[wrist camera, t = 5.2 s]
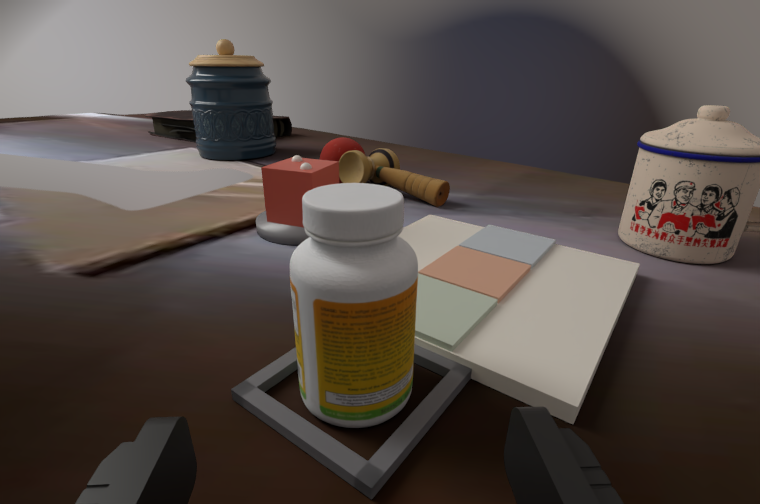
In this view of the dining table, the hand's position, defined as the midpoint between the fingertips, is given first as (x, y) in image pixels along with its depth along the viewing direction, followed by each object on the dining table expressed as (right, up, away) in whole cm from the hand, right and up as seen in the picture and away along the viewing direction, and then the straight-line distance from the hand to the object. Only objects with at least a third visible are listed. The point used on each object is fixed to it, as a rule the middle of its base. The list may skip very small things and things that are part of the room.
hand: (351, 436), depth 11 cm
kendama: (+1, +12, +42) cm, 43 cm away
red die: (-6, +7, +30) cm, 31 cm away
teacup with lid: (+28, +5, +26) cm, 38 cm away
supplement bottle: (0, -2, +10) cm, 10 cm away
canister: (-24, +21, +62) cm, 70 cm away
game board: (+5, +1, +17) cm, 17 cm away
